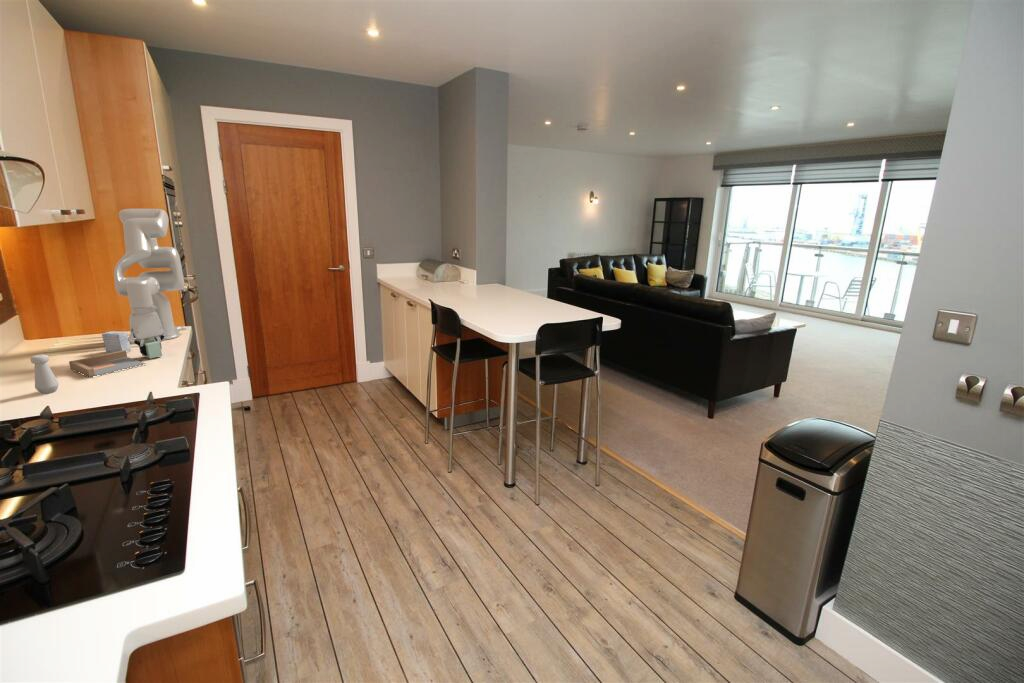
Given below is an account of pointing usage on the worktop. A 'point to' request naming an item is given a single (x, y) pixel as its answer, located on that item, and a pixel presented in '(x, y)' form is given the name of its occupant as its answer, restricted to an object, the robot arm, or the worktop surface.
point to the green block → (152, 349)
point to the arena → (104, 363)
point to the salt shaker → (44, 375)
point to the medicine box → (116, 341)
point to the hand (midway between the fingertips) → (151, 352)
